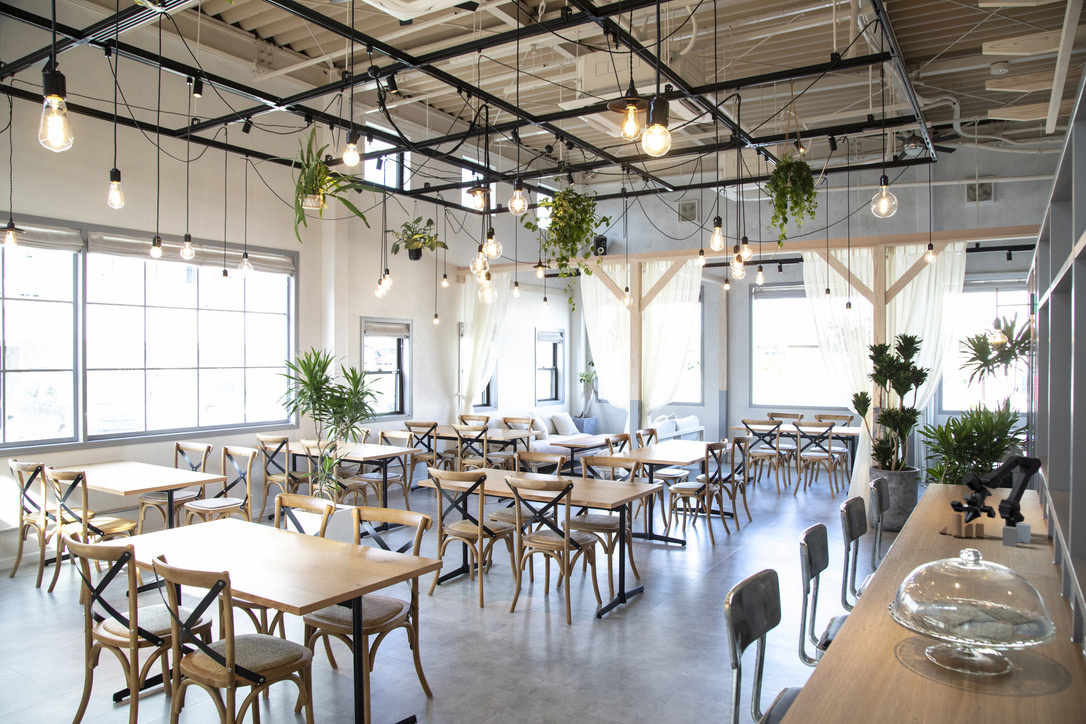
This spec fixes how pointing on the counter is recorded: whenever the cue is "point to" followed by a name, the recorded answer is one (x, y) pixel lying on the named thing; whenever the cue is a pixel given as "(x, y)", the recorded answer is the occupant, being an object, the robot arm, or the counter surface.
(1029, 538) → the slate blue block
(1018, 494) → the robot arm
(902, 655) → the counter surface
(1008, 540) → the gray rectangular block
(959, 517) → the wooden block set
